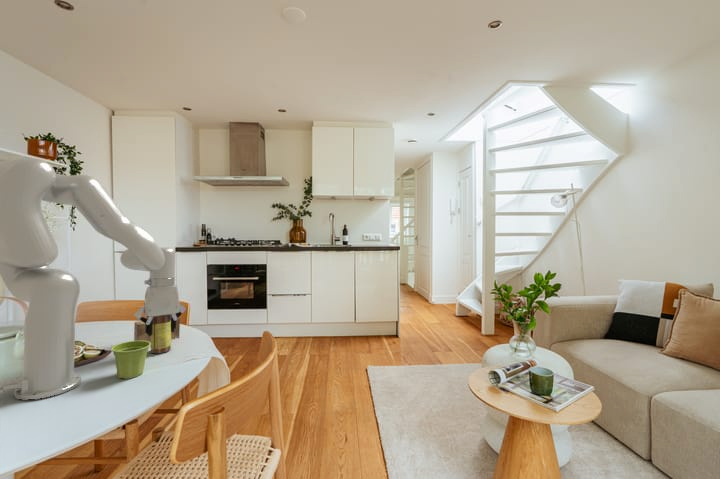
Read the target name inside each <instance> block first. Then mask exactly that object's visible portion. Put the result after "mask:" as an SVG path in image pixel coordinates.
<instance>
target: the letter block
mask: <svg viewBox="0 0 720 479" xmlns="http://www.w3.org/2000/svg"><path fill="white" fill-rule="evenodd" d="M180 322H181V319H180V317H179V318H178V319H177V320H176V329H174V332H171V339H173V340H176V339H175V338H178V339H180V330H181V329H180V328H181V327H180V325H181V323H180ZM133 330H134V331H133V332H134V333H133V341H149V342H150V336H148V335H147V333H145V323H144V322H142V321H141V320H140V321H139V320H138V321H134V329H133Z"/></svg>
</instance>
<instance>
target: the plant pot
mask: <svg viewBox="0 0 720 479" xmlns="http://www.w3.org/2000/svg"><path fill="white" fill-rule="evenodd" d="M150 345H151V343H150V342H149V341H134V340H131V341H124V342H121V343H118V344H115V345H114V346H112V347H111V349H110V350H111V351H112V353H113V356H114V360H115V366H116V374H117V378H118V379H125V380H128V379H132V378H136V377H138V376H140V375H142V374H143V373H144V370H145V364H146V359H147V353H148V351H149V348H150Z"/></svg>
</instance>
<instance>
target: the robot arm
mask: <svg viewBox="0 0 720 479" xmlns="http://www.w3.org/2000/svg"><path fill="white" fill-rule="evenodd" d="M42 201H44V202H47V203H48V202H49V203H53V204H60V205H66V206H74V207H75V208H76V210H78V211H79V213H80V214H81V215H82V216H83V217H84V219H85V220H86V221H87V222H88V223H89V224H90V226H92V228H93V229H94V230H95V231H96V232H97V233H99V234H101V235H102V236H104V237H106V238H108V239H110V240H113V241H115V242H117V243H119V244H121V245H122V246H123V247H125V248H127V249H126V250H124V251H123V252H122V253H121V255H120V260H119V261H120V263H121V265H122V266H123V267H124V268H125V269H126V268H127V269H129V270H133V271H142V272H149V277H148V279H147V280H144V285H148V286H147V287H146V290H145V294H144V301H143V306H141V307H140V309H138V310H137V311H136V312H135V313H134V317H135V318H136V319H138V320H140V321H142V322H144V323H145V333H147V335H148V336H151V335H152V324H151V320H152V318H153V317H156V316H161V315H170V316H171V332H174V329H176V320H177V319H178V318H180V316H181V315H182V314H183V313H184V312H185V311H186V310H187V308H186V307H185V305H183V304H181V302H180V297H179V296H180V295H179V289H178V285H176V284H175V280H176V279H175V277H176V276H175V274H176V273H175V272H176V250H175V249H174V248H172V247H160V246H159V244H158V243H157V242H156V241H155V239H154V237H152V236H151V235H150V234H149V232H147V231H146V230H144V228H143V227H140V226H139V225H138V224H137V223H135V222H134V221H132V220H131V219H130V218H128V217H127V216H126V214H125V213H124V212H123V210H122V209H121V208H120V206H118V204H117V202H115V200H114V199H113V198H112V196H111V195H110V194H109V193H108V191H107V190H106V188H105V187H104V186H103V185H102V184H101V182H99V181H98V179H96V178H95V177H93V176H90V175H86V174H85V175H84V174H75V175H73V174H72V175H64V174H59V173H56V171H55V168H54V167H53V166H52V165H51V164H50V163H49V162H47V161H44V160H42V159H39V158H32V157H27V158H26V157H25V158H17V159H10V160H5V161H0V277H1V279H2V281H3V283H4V285H5V286H6V288H7V289H8V292H10V294H11V295H12V296H13V297H14V298H15V299H17V300H20V301H23V302H26V303H28V308H27V311H26V314H25V319H24V328H23V329H24V332H23V333H24V334H23V336H24V339H23V340H24V342H23V372H22V374H21V376H19V377H16V378H15V379H13V380H6V381H1V382H0V391H2V393H7V392H10V391H14V392H13V393H14V394H13V396H14V398H15V399H16V400H19V399H22V400H21V401H29V400H28V399H35V400H41V399H40V398H42V399H45V398H46V397H47V398H50V396H51V397H54V395H55V396H57V395H61V394H64V393H67V392H68V391H71V390H72V389H74V388H77V387H78V386H79V385H80V384H81V383H82V376H81V375H79V374H77V373H75V349H76V348H75V346H76V345H75V343H76V341H75V340H76V312H77V306H78V301H79V296H80V290H81V286H80V283H79V280H78V279H77V277H75V276H74V274H72V273H70V272H67V271H65V270H61V269H55V268H51V267H50V265H51V264H52V263H54V261H55V260H57V258H58V255H59V248H58V245H57V242H56V241H55V239H54V236H53V234H52V232H51V230H50V228H49V226H48V224H47V221H46V219H45V216H44V213H43V210H42ZM142 314H144V315H145V316H146V317H144V316H143V315H142ZM47 398H46V399H47Z"/></svg>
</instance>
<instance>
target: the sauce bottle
mask: <svg viewBox="0 0 720 479" xmlns="http://www.w3.org/2000/svg"><path fill="white" fill-rule="evenodd" d="M151 324H152V335H151V336H150V343H151V345H150V346H149V348H150V353H153V354H164V353H167V352H169V351H171V349H172V340H171V316H170V315H161V316H156V317H153V318H152V320H151Z"/></svg>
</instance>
